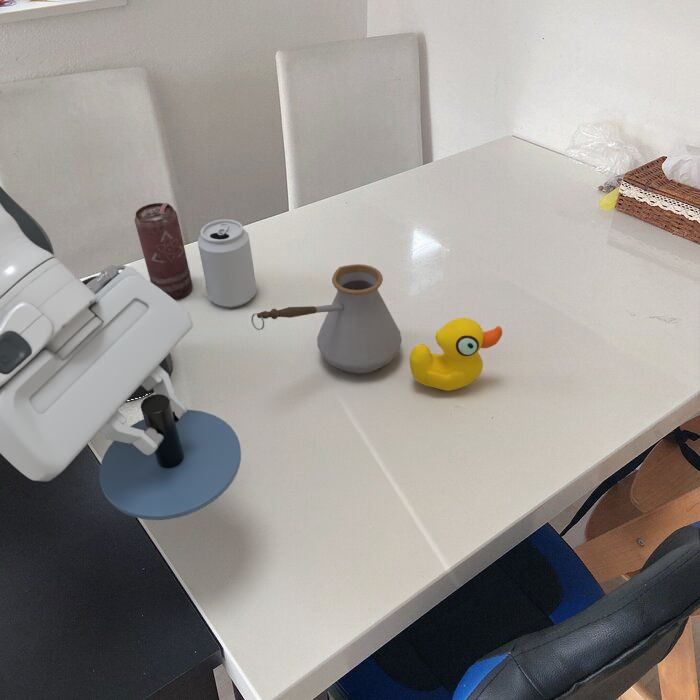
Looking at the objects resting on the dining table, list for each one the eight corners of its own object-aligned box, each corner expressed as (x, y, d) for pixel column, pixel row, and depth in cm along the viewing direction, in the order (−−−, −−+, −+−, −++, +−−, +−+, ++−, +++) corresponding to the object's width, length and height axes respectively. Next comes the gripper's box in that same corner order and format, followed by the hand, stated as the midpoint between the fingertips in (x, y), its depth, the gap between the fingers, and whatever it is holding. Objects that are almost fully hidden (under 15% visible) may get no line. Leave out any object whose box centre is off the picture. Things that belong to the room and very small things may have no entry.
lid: (114, 545, 56) (88, 482, 51) (93, 442, 65) (69, 379, 60) (259, 494, 60) (249, 430, 55) (221, 403, 69) (208, 340, 64)
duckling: (490, 366, 91) (498, 306, 85) (499, 394, 87) (508, 333, 81) (406, 372, 91) (408, 312, 85) (411, 399, 87) (413, 339, 80)
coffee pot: (362, 319, 100) (360, 230, 90) (418, 356, 93) (422, 264, 84) (242, 387, 90) (225, 294, 80) (295, 434, 83) (283, 339, 73)
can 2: (201, 307, 104) (186, 239, 96) (220, 280, 109) (207, 213, 102) (247, 313, 102) (236, 244, 95) (264, 285, 108) (254, 218, 100)
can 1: (200, 281, 109) (183, 202, 100) (182, 304, 105) (163, 223, 96) (165, 276, 111) (146, 198, 102) (147, 298, 106) (125, 219, 97)
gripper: (105, 271, 65) (210, 370, 69) (-63, 415, 51) (80, 532, 54) (134, 239, 61) (244, 346, 64) (-41, 386, 46) (113, 513, 50)
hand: (168, 432), depth 59 cm, fingers closed on lid, 2 cm apart
